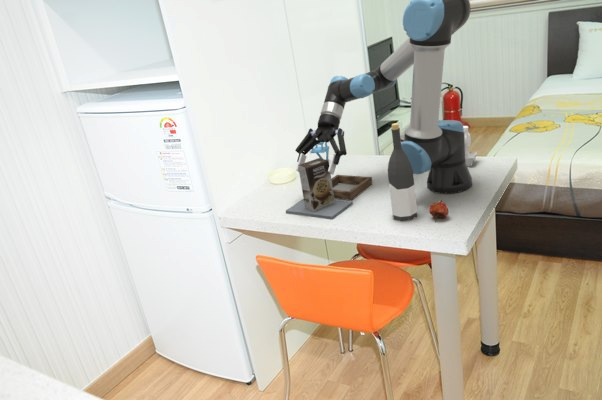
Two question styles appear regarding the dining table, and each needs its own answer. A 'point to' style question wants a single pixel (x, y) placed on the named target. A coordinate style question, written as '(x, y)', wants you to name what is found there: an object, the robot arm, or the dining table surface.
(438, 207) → the pomegranate
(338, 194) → the walnut cradle
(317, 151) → the chair
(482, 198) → the dining table surface
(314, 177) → the coffee box
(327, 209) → the slate mat
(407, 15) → the robot arm
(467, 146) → the figurine
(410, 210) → the wine bottle
